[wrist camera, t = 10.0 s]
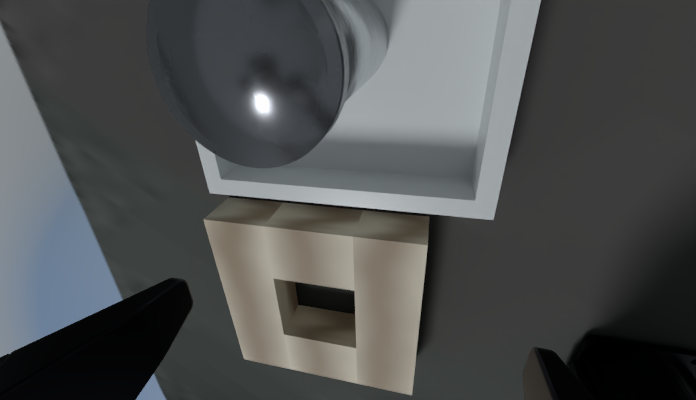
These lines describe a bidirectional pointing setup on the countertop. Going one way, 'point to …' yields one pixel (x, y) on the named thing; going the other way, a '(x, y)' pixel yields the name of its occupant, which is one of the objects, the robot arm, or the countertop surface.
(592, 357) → the robot arm
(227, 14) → the metal pin
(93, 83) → the countertop surface
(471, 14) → the tray
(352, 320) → the socket block
